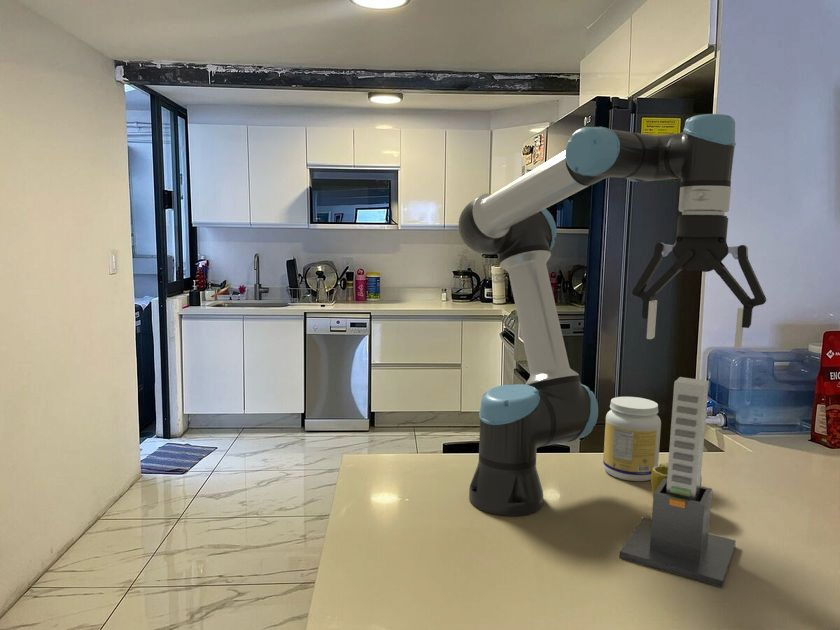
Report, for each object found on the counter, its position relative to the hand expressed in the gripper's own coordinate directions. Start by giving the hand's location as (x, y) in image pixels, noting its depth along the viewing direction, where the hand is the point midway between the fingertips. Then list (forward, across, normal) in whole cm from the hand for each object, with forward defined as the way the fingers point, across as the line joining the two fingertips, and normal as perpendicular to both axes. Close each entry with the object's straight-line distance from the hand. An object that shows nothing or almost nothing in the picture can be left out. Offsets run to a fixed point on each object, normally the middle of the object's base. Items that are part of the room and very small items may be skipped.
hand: (692, 342), depth 105 cm
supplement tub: (+37, -16, +33) cm, 52 cm away
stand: (+37, 0, 0) cm, 37 cm away
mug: (+37, -4, +20) cm, 42 cm away
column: (+29, 0, 0) cm, 29 cm away
